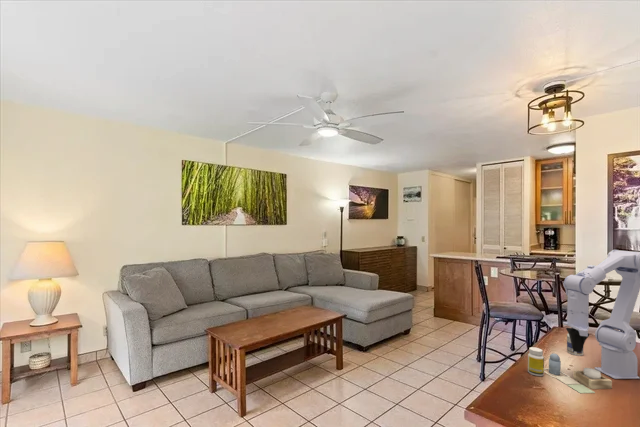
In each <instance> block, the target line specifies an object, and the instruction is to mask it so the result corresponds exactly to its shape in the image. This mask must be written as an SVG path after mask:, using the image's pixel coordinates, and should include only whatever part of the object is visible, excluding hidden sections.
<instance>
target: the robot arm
mask: <svg viewBox="0 0 640 427" xmlns="http://www.w3.org/2000/svg"><path fill="white" fill-rule="evenodd" d="M612 271H615V272H616V273H617V274H618V275H620V276H621V283H620V284H619V289H618V291H617V293H616V294H617V295H616V298H615V301H614V304H613V307H612V311H611V314H610V316H609V318H607V319H604V320H602V321H601V320H600V323H599V325H598V327H597V328H596V330H595V332H594V336H595V340H596V341H597V342H598V343H599V344H598V345H599V346H600V347H601V349H600V350H601V353H600V354H601V356H600V359H601V362H600V364H601V365H600V367H599V366H597V367H594V369H595V370H598V371H599V372H601V374H604V375H606V376H608V377H609V378H612V379H614V380H615V379H616V380H618V379H620V380H626V379H627V380H628V379H629V380H631V379H632V380H633V379H634V380H636V379H638V380H640V376H638V356H637V354H636V353H635V351H633V350H635V348H636V346H637V332H636V330H635V329H634V328H633V327H632V326H631V325H630V323H631V319H632V316H633V313H634V310H635V307H636V303H637V300H638V297H639V296H638V295H639V293H640V251H631V250H629V251H628V250H619V249H612V250H611V251H609V252H608V254H607V258H605V259H603V261H601V262H599V263H598V264H597V265H594V264H588V265H587V267H586V268H584V269H583V270H581V271H578V273H576V274H569V275H568V276H566V277H565V278H564V281H563V283H562V284H563V288H564V290H565V294H566V296H567V304H566V306H567V309H566V310H567V311H566V312H567V314H566V315H567V317H566V321H562V324H563V325H564V326H568V327H565V330H566V331H567V334H569V336H570V340H571V345H572V349H573V351H575V352H582V349H583V350H584V347H585V346H584V345H585V343H586V341H587V339H588V338H590V333H589V329H590V326H589V313H590V312H589V306H590V305H589V301H590V300H589V298H590V296H589V295H590V294H592V293H593V292H594V288H595V287H596V286H597V285H598V284H600V283H601V282H602V281H604V280H605V279H606V278H607V274H609V273H610V272H612Z"/></svg>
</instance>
